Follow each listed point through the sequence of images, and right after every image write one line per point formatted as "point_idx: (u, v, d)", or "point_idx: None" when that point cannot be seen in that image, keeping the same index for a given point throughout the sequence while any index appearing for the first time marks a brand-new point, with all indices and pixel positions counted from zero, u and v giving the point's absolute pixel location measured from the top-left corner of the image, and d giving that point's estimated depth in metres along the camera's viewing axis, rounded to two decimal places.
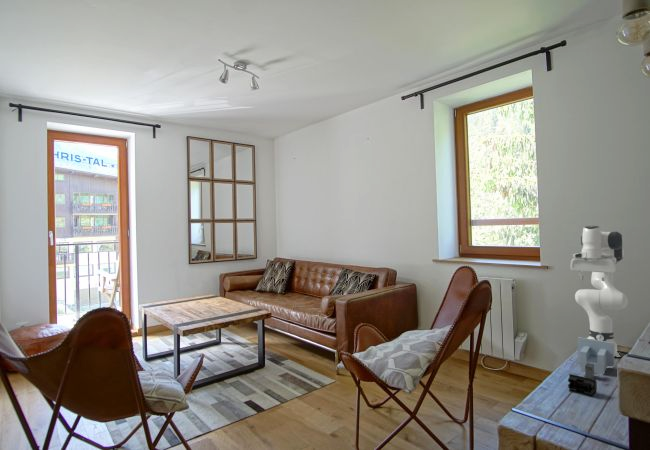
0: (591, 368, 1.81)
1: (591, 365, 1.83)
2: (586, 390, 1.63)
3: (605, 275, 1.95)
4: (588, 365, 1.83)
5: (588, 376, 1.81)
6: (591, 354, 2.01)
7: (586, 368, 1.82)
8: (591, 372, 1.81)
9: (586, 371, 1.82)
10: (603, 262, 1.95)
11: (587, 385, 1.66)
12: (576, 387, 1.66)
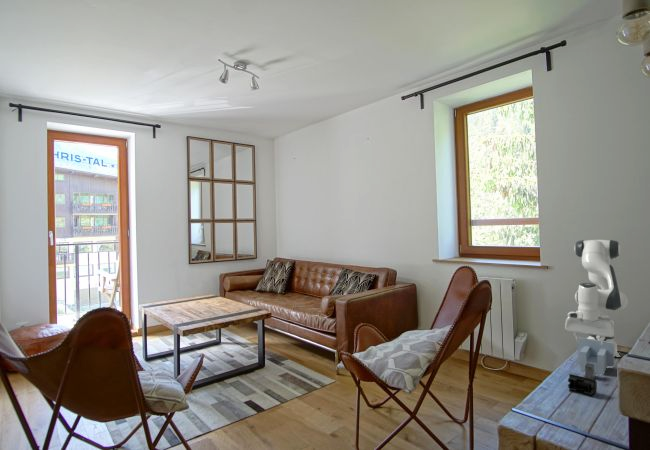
0: (591, 368, 1.81)
1: (591, 365, 1.83)
2: (586, 390, 1.63)
3: (602, 339, 1.80)
4: (588, 365, 1.83)
5: (588, 376, 1.81)
6: (591, 354, 2.01)
7: (586, 368, 1.82)
8: (591, 372, 1.81)
9: (586, 371, 1.82)
10: (600, 324, 1.80)
11: (587, 385, 1.66)
12: (576, 387, 1.66)
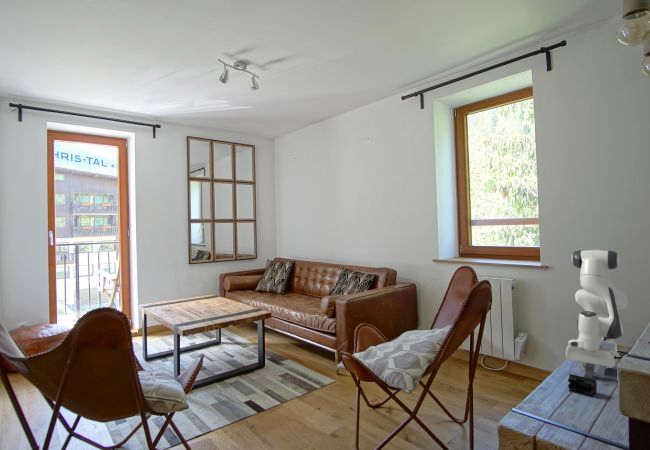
0: (591, 368, 1.81)
1: (591, 365, 1.83)
2: (586, 390, 1.63)
3: (597, 367, 1.81)
4: (588, 365, 1.83)
5: (588, 376, 1.81)
6: None
7: (586, 368, 1.82)
8: (591, 372, 1.81)
9: (586, 371, 1.82)
10: (600, 354, 1.79)
11: (587, 385, 1.66)
12: (576, 387, 1.66)
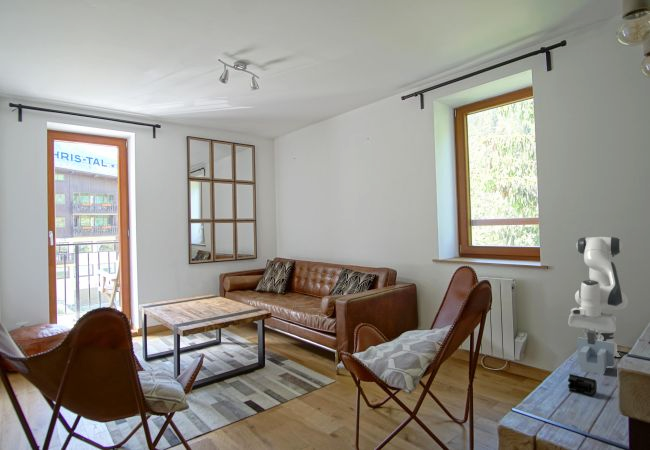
0: (593, 334, 1.88)
1: (593, 331, 1.91)
2: (586, 390, 1.63)
3: (598, 333, 1.88)
4: (590, 331, 1.91)
5: (590, 341, 1.89)
6: (591, 354, 2.01)
7: (588, 334, 1.90)
8: (593, 338, 1.88)
9: (588, 337, 1.90)
10: (602, 320, 1.87)
11: (587, 385, 1.66)
12: (576, 387, 1.66)
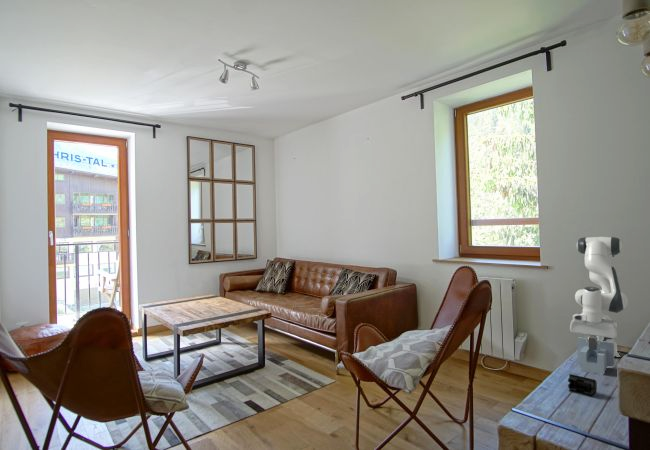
0: (594, 339, 1.91)
1: (594, 337, 1.94)
2: (586, 390, 1.63)
3: (600, 339, 1.91)
4: (591, 337, 1.94)
5: (591, 347, 1.92)
6: (591, 354, 2.01)
7: (589, 340, 1.93)
8: (594, 343, 1.91)
9: (589, 342, 1.93)
10: (603, 326, 1.90)
11: (587, 385, 1.66)
12: (576, 387, 1.66)
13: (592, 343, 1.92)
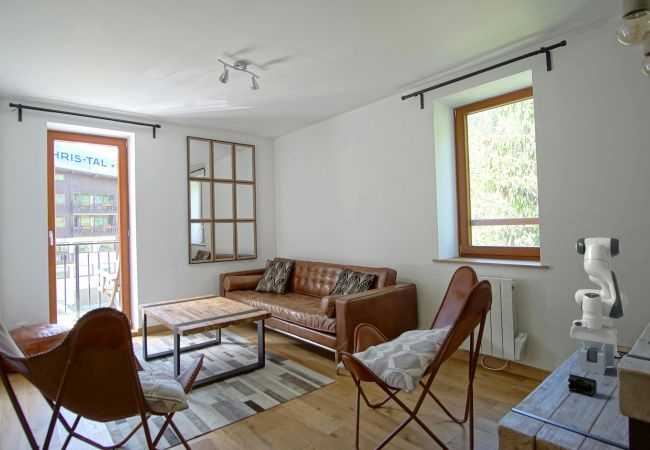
0: (594, 351, 1.91)
1: (594, 349, 1.94)
2: (586, 390, 1.63)
3: (603, 346, 1.91)
4: (592, 349, 1.94)
5: (592, 359, 1.92)
6: None
7: (590, 352, 1.93)
8: (594, 355, 1.91)
9: (590, 354, 1.93)
10: (603, 332, 1.90)
11: (587, 385, 1.66)
12: (576, 387, 1.66)
13: (592, 355, 1.92)
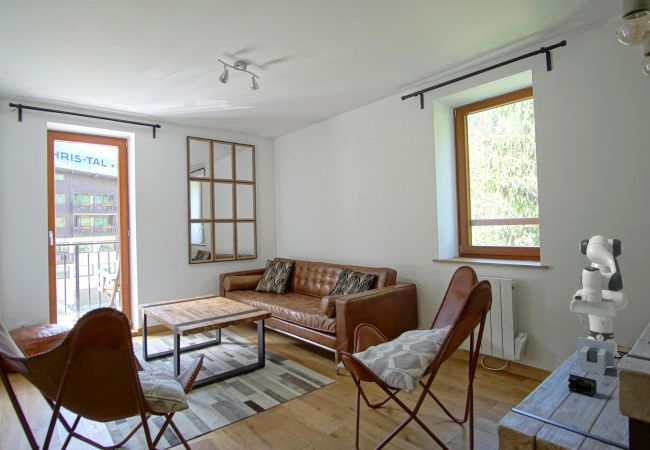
0: (594, 351, 1.91)
1: (594, 349, 1.94)
2: (586, 390, 1.63)
3: (605, 319, 1.91)
4: (592, 349, 1.94)
5: (592, 359, 1.92)
6: None
7: (590, 352, 1.93)
8: (594, 355, 1.91)
9: (590, 354, 1.93)
10: (603, 305, 1.92)
11: (587, 385, 1.66)
12: (576, 387, 1.66)
13: (592, 355, 1.92)
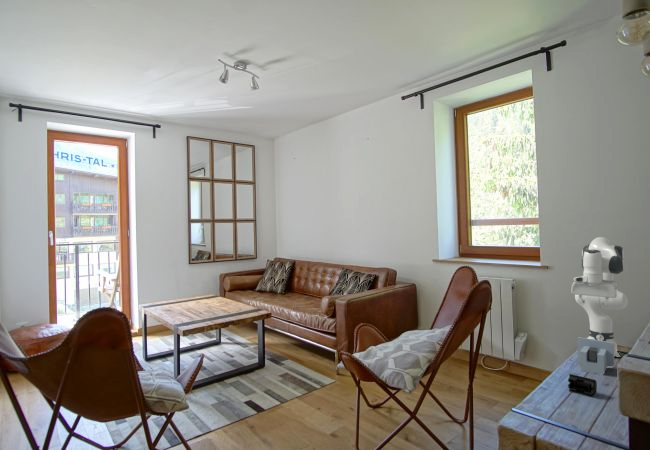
0: (594, 351, 1.91)
1: (594, 349, 1.94)
2: (586, 390, 1.63)
3: (606, 300, 1.95)
4: (592, 349, 1.94)
5: (592, 359, 1.92)
6: None
7: (590, 352, 1.93)
8: (594, 355, 1.91)
9: (590, 354, 1.93)
10: (603, 286, 1.95)
11: (587, 385, 1.66)
12: (576, 387, 1.66)
13: (592, 355, 1.92)
